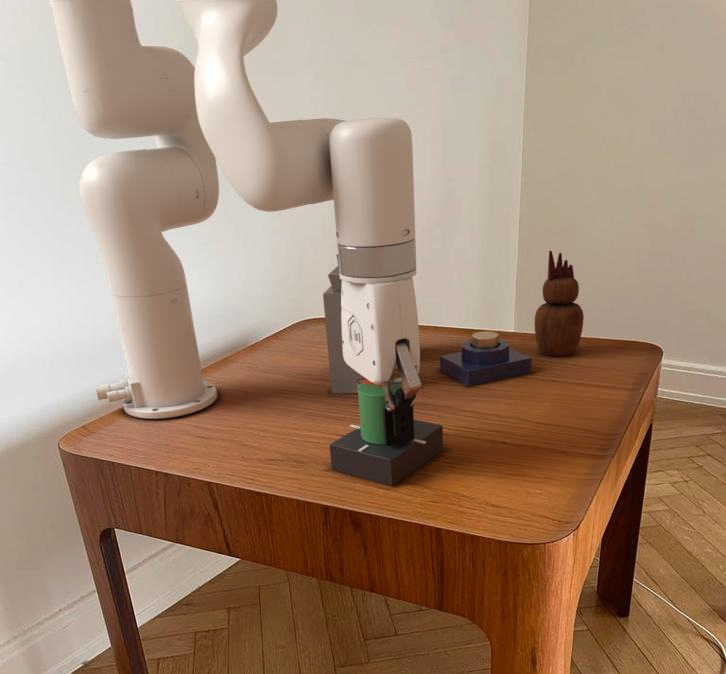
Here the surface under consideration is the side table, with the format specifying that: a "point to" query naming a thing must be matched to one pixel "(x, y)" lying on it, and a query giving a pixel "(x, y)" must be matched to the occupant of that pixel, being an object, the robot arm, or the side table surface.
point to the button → (485, 340)
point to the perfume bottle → (337, 338)
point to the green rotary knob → (372, 410)
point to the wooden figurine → (559, 311)
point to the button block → (484, 363)
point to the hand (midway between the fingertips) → (386, 430)
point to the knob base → (386, 454)
